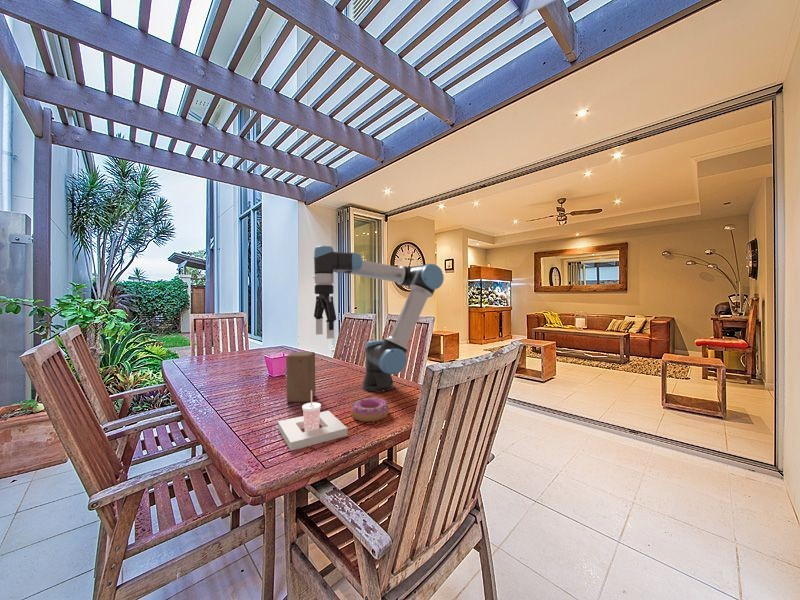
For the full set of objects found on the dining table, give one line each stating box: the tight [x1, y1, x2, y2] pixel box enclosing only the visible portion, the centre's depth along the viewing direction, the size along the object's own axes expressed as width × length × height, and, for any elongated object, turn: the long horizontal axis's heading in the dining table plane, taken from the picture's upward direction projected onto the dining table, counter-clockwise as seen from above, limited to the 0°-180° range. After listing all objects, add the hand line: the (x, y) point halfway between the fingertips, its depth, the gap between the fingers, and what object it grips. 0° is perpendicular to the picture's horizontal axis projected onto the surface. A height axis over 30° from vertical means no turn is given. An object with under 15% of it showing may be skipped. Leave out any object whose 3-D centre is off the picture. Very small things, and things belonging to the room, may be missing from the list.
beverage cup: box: [301, 390, 322, 432], centre depth 105 cm, size 6×6×14 cm
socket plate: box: [277, 410, 348, 451], centre depth 105 cm, size 18×18×2 cm
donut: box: [351, 397, 390, 423], centre depth 119 cm, size 14×14×5 cm
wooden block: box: [285, 351, 316, 403], centre depth 138 cm, size 10×10×20 cm
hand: (324, 336), depth 129 cm, fingers open, 13 cm apart
